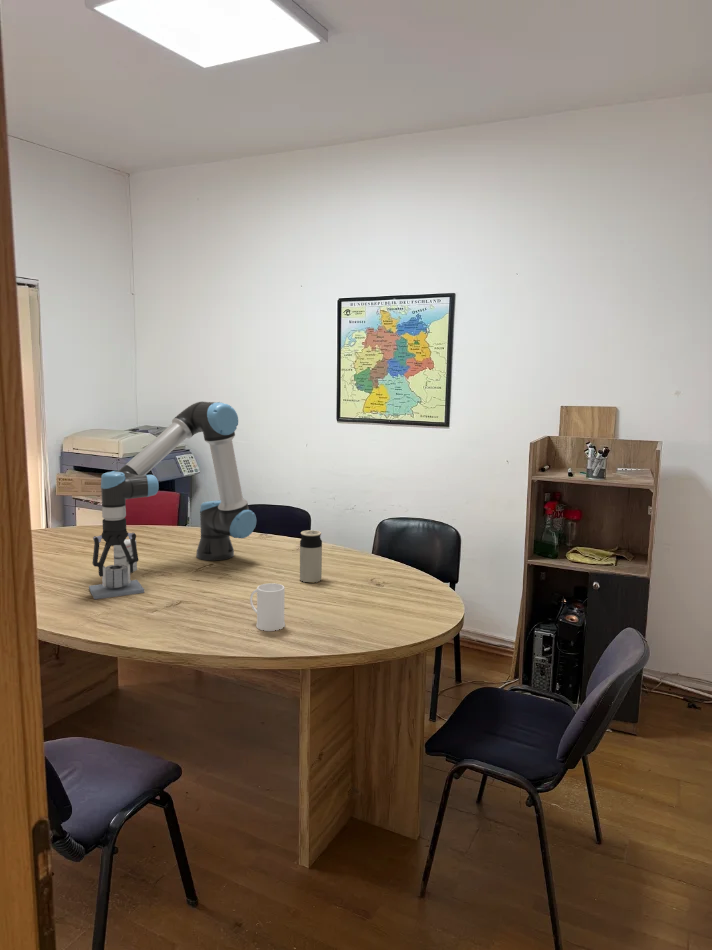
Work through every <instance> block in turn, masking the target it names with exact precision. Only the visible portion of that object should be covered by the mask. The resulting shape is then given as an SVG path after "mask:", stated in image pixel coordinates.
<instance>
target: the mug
mask: <svg viewBox="0 0 712 950" xmlns="http://www.w3.org/2000/svg"><path fill="white" fill-rule="evenodd" d="M254 594H256V607H255V605H254V603H253V596H254ZM249 603H250V606H251V608H252V610H253V612H254V613H256V616H257V617H256V625H255V626H256V628H257V629H258V630H260V631H263V630H264V632H275V630H276V631H280V630H282V629H283V627H284V628H285V627H286V622H285V586H284V585H283V584H280V583H274V582H271V583H270V582H269V583H262V584H259V585H258V586H257V587H256V589H254V590H253V591H252V592H251V594H250V597H249ZM279 629H280V630H279Z"/></svg>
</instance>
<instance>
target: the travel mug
mask: <svg viewBox="0 0 712 950" xmlns="http://www.w3.org/2000/svg"><path fill="white" fill-rule="evenodd" d="M300 534H301V539H300V541H299V581H300V580H301V582H302V581H303V582H302V583H305V582H316V583H319V582H321V581H322V578H323V577H322V576H323V575H322V574H323V573H322V567H323V566H322V563H323V562H322V561H323V541H322V538H321V536H322V532H321V531H320V530H314V529H313V530H311V529H310V530H308V529H307V530H302V531H301V532H300ZM320 580H321V581H320ZM318 581H319V582H318Z"/></svg>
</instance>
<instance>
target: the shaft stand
mask: <svg viewBox="0 0 712 950" xmlns="http://www.w3.org/2000/svg"><path fill="white" fill-rule="evenodd" d="M88 590H89V591H90V594H91V596H92V597H93V599H94V600H101V599H108V598H115V597H116V598H117V597H123V596H129V595H137V594H143V593H145V587H143V585H142V584H141V583H140V582H139V580H138V579H132V580H131V579H130V583H128V585H126V586H124V587H123V586H122V587H118V588H110V587H106V586H103V584H102V583H100V584H91V585H88Z"/></svg>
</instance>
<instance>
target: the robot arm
mask: <svg viewBox="0 0 712 950" xmlns="http://www.w3.org/2000/svg"><path fill="white" fill-rule="evenodd" d="M238 425H239V416H238V413H237V411H236V409H235V408H234V407H233V406H232V405H230V404H228V403H224V402H220V401H219V402H215V401H212V402H211V401H197V402H195V403H192V404H191V405H189V406H188V407H186V408H185V409H183V410H182V411H181V412H180V413H178V414H177V415H176V416H175V417H174V418H173V419H172V421H171V424H170V425H168V426H167V427H166V428H165V429H164V430H163V431H162V432H160V434H159V435H158V436H156V437H155V438H154V439H153V440H152V441H150V443H148V444H147V445H146V446H145V447H144V448H143V449H141V451H139V452H138V453H137V454H136V455H134V456H133V458H131V459H130V460H129V461H128V462H127V463H126V464H125V465H123V466H122V467H121V468H120V469H119V470H112V471H107V472H105V473H102V474H101V477H100V478H101V479H100V489H101V490H100V491H101V512H102V513H101V514H102V515H101V517H102V532H101V535H98V536H97V535H96V536H93V537H92V539H93V542H94V543H93V545H94V546H93V554H92V561H91V562H92V565H93V567H95V568H96V567H97V568H98V576H99V577H101V579H102V580H101V581H102V583H101V584H103V586H106V570H105V567H106V566H105V565H104V564H105V563H106V559H107V557H108V555H109V551H110V549H111V547H114V545H121V547H122V549H123V551H124V553H125V556H126V558H127V560H128V562H129V563H126V566H127V567H128V583H130V580H131V574H132V573H134V572H133V564H134V562H137V563H138V561H139V555H138V549H137V548H136V545H137V540H136V539H137V534H136V533H135V532H128V531H127V518H126V516H127V509H126V502H127V501H126V500H130V499H139V498H148V497H152V496H156V495H157V494H158V491H159V488H160V487H159V480H158V478H157V477H156V476H155V475H153V474H148V473H149V472H151V470H153V468H155V467H156V466H157V465H159V463H160V462H161V461H162V460H164V459H165V458H166V456H168V455H169V454H170V453H171V452H173V450H175V449H176V448H177V447H178V446H179V445H180V444H181V443H183V442H184V441H185V440H186V439H191V438H192V437H193V436H195V435H196V434H198V433H202V434H203V439H204V441H205V442H206V443H207V444H208V445H209V447H210V454H211V458H212V464H213V469H214V474H215V478H216V483H217V484H216V485H217V489H218V494H219V498H220V499H219V500H218V499H217V500H210V501H203V502H202V503H201V504H200V509H199V510H200V511H199V515H200V518H199V519H200V538H199V542H198V545H197V548H196V558H197V559H199V560H204V561H225V560H228V559H232V558H233V557H234V556H235V550H234V547H233V544H232V540H231V537H232V538H233V539H234V538H235V539H245V538H247V537H249V536H250V535H252V533H253V532H254V529H256V525H257V517H256V514H255V512H253V510H251V509H250V508H249V505H248V500H247V499H245V498H243V494H242V493H243V492H242V488H241V487H242V486H241V481H240V476H239V469H238V466H237V465H238V464H237V461H236V455H235V449H234V444H233V439H234V438H235V437H236V433H235V432H236V430H237V429H238V428H237V427H238ZM102 539H103V541H105V544H104V547H103V550H102V552H101V555H100V558H99V553H100V544H101V542H102ZM125 539H129V540H130V541H131V547H132V553H133V558H131V556H130V554H129V552H128V550H127V548H126V545H125V543H124V541H125ZM135 540H136V542H135Z"/></svg>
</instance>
